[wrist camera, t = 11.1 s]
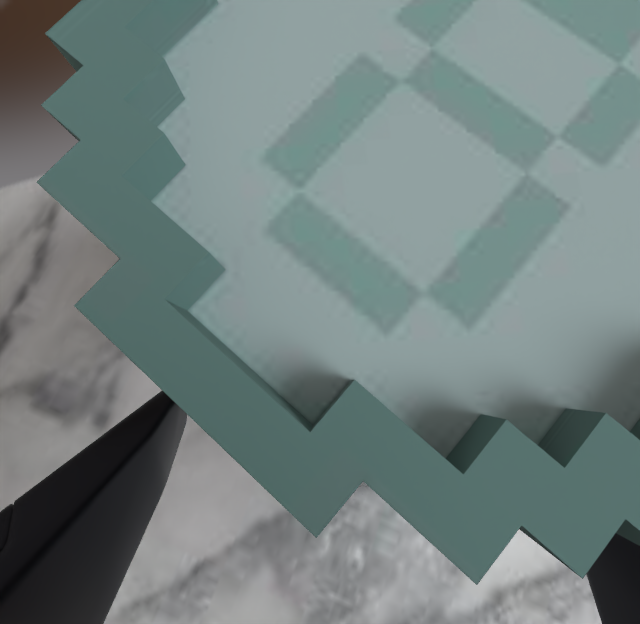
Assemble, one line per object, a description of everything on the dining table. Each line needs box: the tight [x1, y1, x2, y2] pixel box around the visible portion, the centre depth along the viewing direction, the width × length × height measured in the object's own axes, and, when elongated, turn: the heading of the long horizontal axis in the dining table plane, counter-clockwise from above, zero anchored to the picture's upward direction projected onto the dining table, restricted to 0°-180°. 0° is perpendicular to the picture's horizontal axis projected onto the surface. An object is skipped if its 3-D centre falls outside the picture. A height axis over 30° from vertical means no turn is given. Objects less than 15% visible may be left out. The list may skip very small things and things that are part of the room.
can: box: [37, 0, 640, 585], centre depth 10 cm, size 6×6×15 cm
